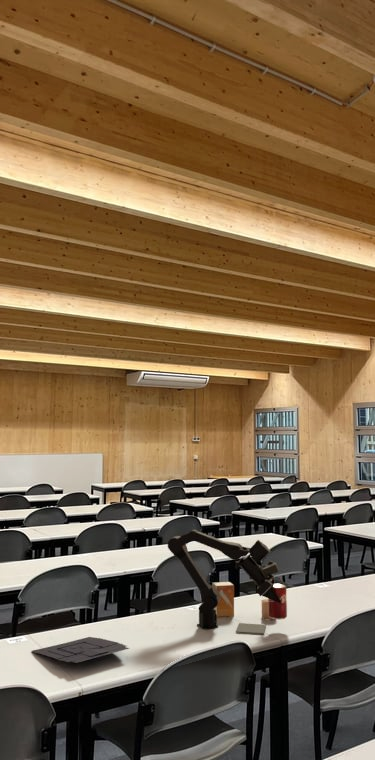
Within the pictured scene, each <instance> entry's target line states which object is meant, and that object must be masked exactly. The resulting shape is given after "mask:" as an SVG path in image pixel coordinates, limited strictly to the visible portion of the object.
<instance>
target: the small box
mask: <svg viewBox="0 0 375 760" xmlns="http://www.w3.org/2000/svg"><path fill="white" fill-rule="evenodd" d="M213 585H215V586H216V589H217V590H218V591H219V592H220V593H219V595H220V601H219V603H218V605H217V606H216V607H215V608H214V610H216V614H217V618H219V617H234V616H235V584H233V583H232V582H230V581H221V582H220V581H219V582H212V585H211V586H213Z"/></svg>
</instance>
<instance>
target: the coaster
mask: <svg viewBox="0 0 375 760" xmlns="http://www.w3.org/2000/svg"><path fill="white" fill-rule="evenodd" d="M266 628H267V624H259V623H244V622H243V623H242V622H239V623H238V624H237V627H236V629H235V634H245V635H246V634H247V635H259V636H261V635H262V636H264V635H265V632H266Z"/></svg>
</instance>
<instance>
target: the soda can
mask: <svg viewBox="0 0 375 760" xmlns="http://www.w3.org/2000/svg"><path fill="white" fill-rule="evenodd" d="M273 589H274V591H275V592H276V594H277V595H278V597H279V598H280V600H281V602H280V603H278V602H275V601H273V600H271V599H269V598H267V599H268V615H269V617H270V618H272V619H275V620H285V619H286V618H287V617H288V608H287V607H288V601H287V596H288V595H287V586H286V585H285V584H283V583H282V584H281V583H275V584H273Z"/></svg>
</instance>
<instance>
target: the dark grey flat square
mask: <svg viewBox="0 0 375 760" xmlns="http://www.w3.org/2000/svg"><path fill="white" fill-rule="evenodd" d="M129 649H131V648H130V647H128V646H127V645H125V644H123V643H119V642H118V641H113V640H108V639H105V638H100V637H92V636H88V637H84V638H83V637H82V638H80V639H75V640H72V641H67V642H64V643H59V644H56V645H52V646H47V647H43V648H38V649H34V650H31V652H33V653H35V654H41V655H43V656H47V657H49V658H53V659H54V660H55V659H56V660H58V661H64V662H66V663H71V662H72V663H76V664H77V663H78V664H79V663H82V662H84V661H88V660H92V659H95V658H99V657H103V656H106V655H111V654H114V653H118V652H121V651H125V650H129Z"/></svg>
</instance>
